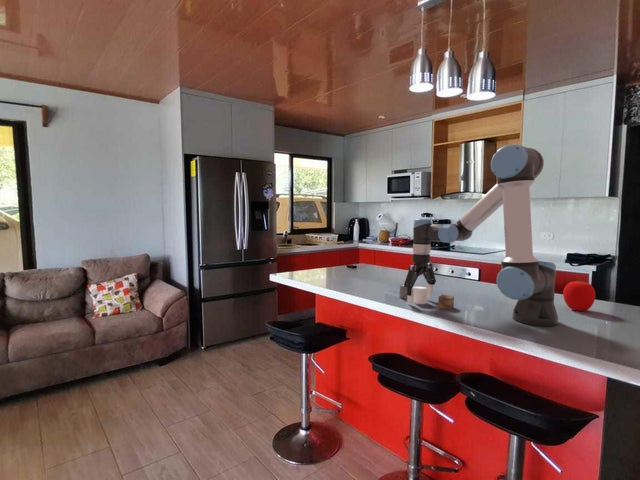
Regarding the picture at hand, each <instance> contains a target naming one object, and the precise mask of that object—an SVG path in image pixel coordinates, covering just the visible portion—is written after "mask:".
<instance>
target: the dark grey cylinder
mask: <svg viewBox="0 0 640 480" xmlns="http://www.w3.org/2000/svg"><path fill="white" fill-rule="evenodd" d="M410 286H411V285H410ZM398 296H399V299H402V300H407V288H406V287H404V283H403V284H399V295H398Z"/></svg>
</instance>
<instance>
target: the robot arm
mask: <svg viewBox="0 0 640 480" xmlns="http://www.w3.org/2000/svg"><path fill="white" fill-rule="evenodd" d="M544 161H545V160H544V157H543V155H542V154H541V153H540V151H538V150H537V149H534V148H532V147H527V146H523V145H521V144H506V145H504V146H502V147H500V148H499V149H498V150H496V152H495V153H494V154H493V155H492V158H491V160H490V169H491V172H492V173H493V175H494V176H495V177H496V179H497V180H496V182H497V183H496V184H495V185H494V186H492V188H491V189H489V190H488V191H487V192H486V194H484V195H483V196H482V197H481V198H480V199H479V200H478V201H477V202H476V203H475V204H474V205H473V206H472V207H471V208H470V209H469V210H468V211H466V213H465V214H464V215H462V216H461V218H459V219H458V220H457V221H456V222H455V223H447V224H446V223H443V224H442V223H432V219H429V218H416V219H414V222H413V228H412V230H413V231H412V232H413V234H412V235H413V236H412V237H413V240H412V241H413V242H412V244H413V245H412V253H413V254H412V259H411V260H412V262H413V263H414V264H413V265H412V264H409V266H408V271H407V275H406V277H405V280H404V283H403V284H404V287H406V288H407V299H406V301H407V302H406V303H408V304H414V303H413V296H414V288H413V287H414V285H415V283H416V281H417V280H418V278H419V277H420V276H421V275H423V278H424V279H425V280H426V286H425V287H427V288H428V293H427V300H428V299H430V300H432V299H433V286H434V285H436V282H437V280H436V279H437V278H436V276H435V272H434V269H433V263H431V255H430V254H431V242H437V243H439V242H440V243H444V244H446V243H447V244H449V243H455V242H462V241H463V242H464V241H467V240H469V239H470V238H471V237H472V235H473V232H474V231H475V230H476V229H478V228H479V226H480V225H481V224H483V222H486V220H487V219H488V218H489V217H490V216H492V214H494V213H495V212H496V211H497V210H498V209H499V208H500V207H501V206H502V209H503V225H504V226H503V227H504V228H503V229H504V248H505V249H504V251H505V256H504V257H503V259H502V260H500V261H501V269H500V271H499V272H498V273H497V276H496V286H497V288H498V290H499V292H501V294H503V295H504V296H505V297H506V298H508V299H511V300H515V301H516V300H517V301H516V303H515V305H514V308H513V310H512V317H511V318H512V319H513V320H514V321H517V322H519V323H521V324H526V325H530V326H539V327H555V326H557V325H559V316H558V312H557V309H556V305H555V303H554V302H555V289H556V277H557V276H556V274H557V269H556V268H557V266H556V264H555V263H554V262H552V261H551V262H550V261H544V260H542V261H541V260H539V259H538V258H537V257H535V256H534V252H533V251H534V249H533V233H532V232H533V230H532V212H531V208H532V207H531V192H530V190H531V189H530V188H531V186H533V184H534V183H535V180H536V179H537V178H538V177H539V175H540V174H541V173H542V170H543V169H544V166H545V165H544V164H545V163H544ZM410 285H411V286H410Z"/></svg>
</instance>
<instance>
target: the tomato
mask: <svg viewBox="0 0 640 480" xmlns="http://www.w3.org/2000/svg"><path fill="white" fill-rule="evenodd" d="M562 291H563V292H562V293H563V295H562V297H563V300H564V303H565V304H566V306H567V307H568V308H570V309H571V310H573V311H577V312H586V311H588V310H589V309H591V308H592V306H593V304H594V302H595V300H596V297H597V296H596V295H597V294H596V291H595V288H594V287H593V285H592V284H591V283H590V282H586V281H583V280H575V281H571V282H570V281H569V282H568V283H567V284H566V285H565V287H564V288H563V290H562Z"/></svg>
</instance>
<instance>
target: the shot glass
mask: <svg viewBox="0 0 640 480" xmlns="http://www.w3.org/2000/svg"><path fill="white" fill-rule="evenodd" d="M413 288H414V296H413V303H412V304H415V305H426V304H427V300H428V298H427V293H428V288H427V287H426V286H423V285H415V286H413Z"/></svg>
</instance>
